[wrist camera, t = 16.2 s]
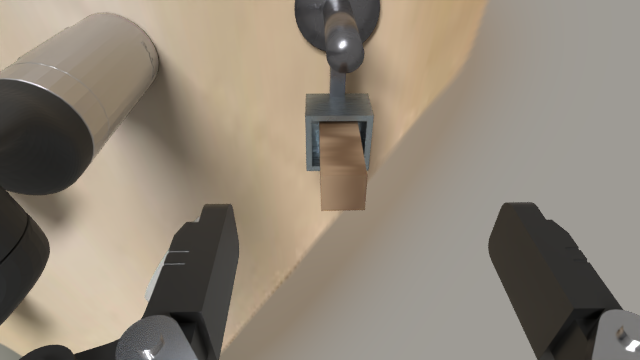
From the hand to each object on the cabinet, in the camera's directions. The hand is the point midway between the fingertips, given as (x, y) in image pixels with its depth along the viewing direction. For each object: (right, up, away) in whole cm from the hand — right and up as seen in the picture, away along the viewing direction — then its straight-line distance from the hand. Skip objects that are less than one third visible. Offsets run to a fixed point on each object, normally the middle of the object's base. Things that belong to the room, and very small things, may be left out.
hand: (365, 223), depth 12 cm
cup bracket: (0, +16, +33) cm, 37 cm away
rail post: (+1, +8, +32) cm, 33 cm away
